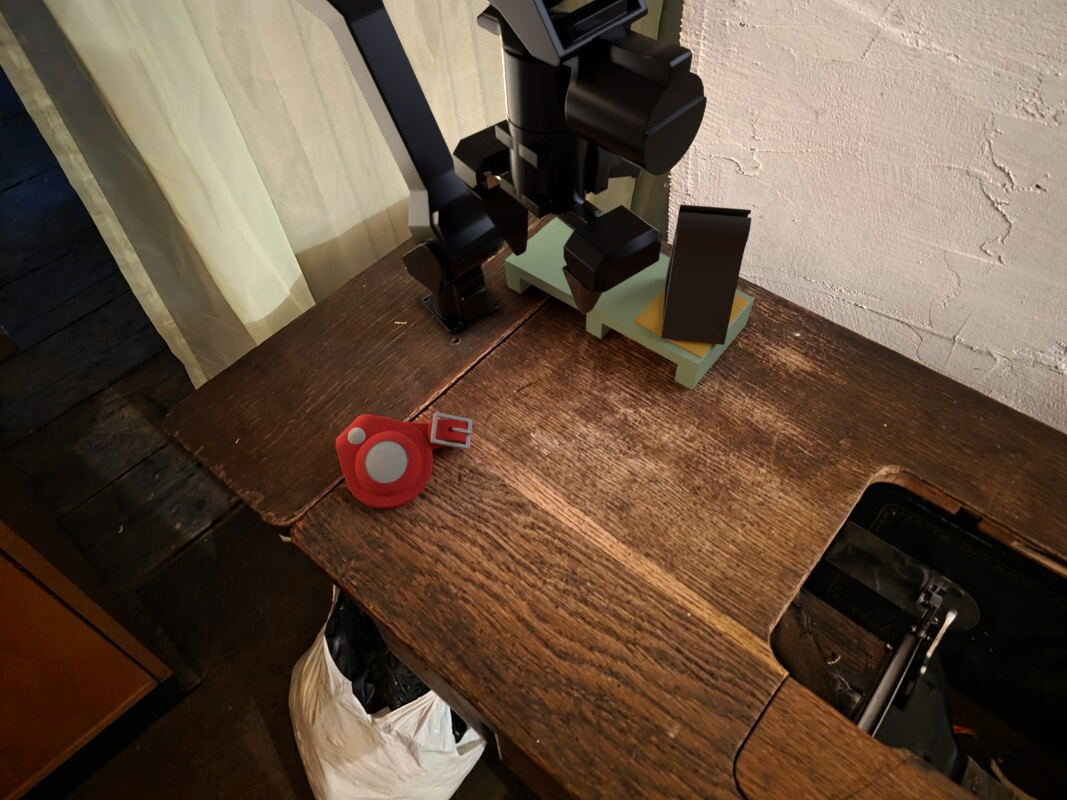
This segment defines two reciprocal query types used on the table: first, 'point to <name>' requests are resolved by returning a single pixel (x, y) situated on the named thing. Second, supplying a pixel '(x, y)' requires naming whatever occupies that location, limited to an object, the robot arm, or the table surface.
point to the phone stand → (703, 272)
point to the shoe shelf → (622, 303)
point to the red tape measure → (395, 455)
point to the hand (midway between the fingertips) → (552, 281)
